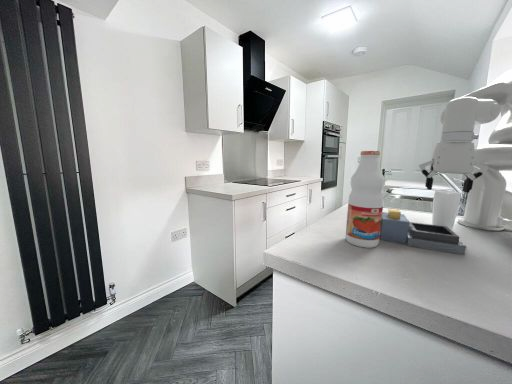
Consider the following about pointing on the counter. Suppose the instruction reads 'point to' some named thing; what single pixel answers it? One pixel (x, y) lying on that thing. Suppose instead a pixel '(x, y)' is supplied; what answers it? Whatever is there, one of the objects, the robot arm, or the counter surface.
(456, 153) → the robot arm
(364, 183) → the fruit juice
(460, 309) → the counter surface
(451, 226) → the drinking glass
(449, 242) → the grey tray
